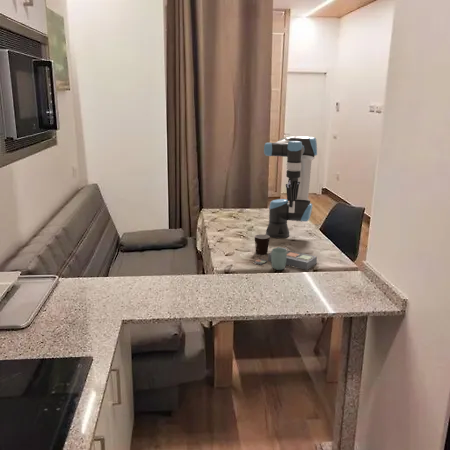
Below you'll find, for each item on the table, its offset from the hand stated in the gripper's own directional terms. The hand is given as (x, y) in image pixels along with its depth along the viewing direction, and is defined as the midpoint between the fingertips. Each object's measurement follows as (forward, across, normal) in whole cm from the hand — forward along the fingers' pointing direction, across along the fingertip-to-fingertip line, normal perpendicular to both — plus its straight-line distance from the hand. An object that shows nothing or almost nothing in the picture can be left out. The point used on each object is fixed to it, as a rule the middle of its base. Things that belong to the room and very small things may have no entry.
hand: (291, 212), depth 249 cm
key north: (+24, +11, +15) cm, 30 cm away
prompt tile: (+24, +22, -6) cm, 33 cm away
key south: (+22, +11, 0) cm, 25 cm away
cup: (+25, +24, +6) cm, 35 cm away
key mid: (+24, +11, +8) cm, 27 cm away
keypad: (+24, +12, +8) cm, 28 cm away
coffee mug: (+25, +7, -14) cm, 29 cm away
